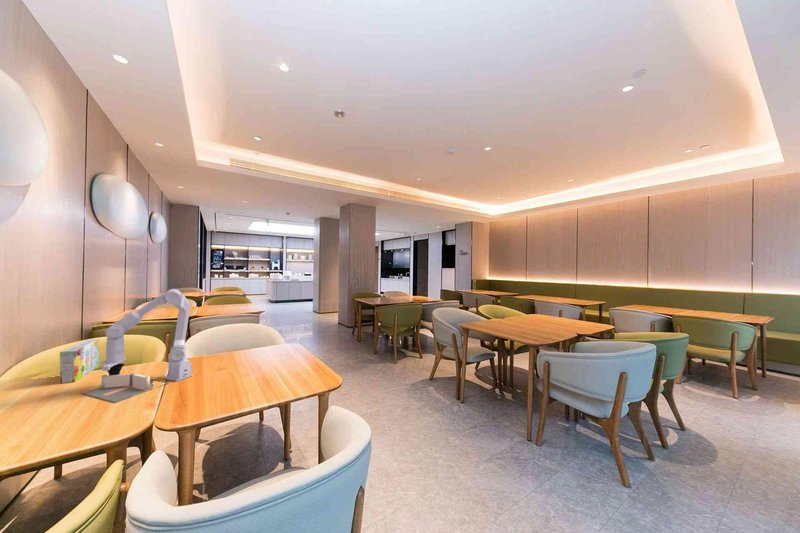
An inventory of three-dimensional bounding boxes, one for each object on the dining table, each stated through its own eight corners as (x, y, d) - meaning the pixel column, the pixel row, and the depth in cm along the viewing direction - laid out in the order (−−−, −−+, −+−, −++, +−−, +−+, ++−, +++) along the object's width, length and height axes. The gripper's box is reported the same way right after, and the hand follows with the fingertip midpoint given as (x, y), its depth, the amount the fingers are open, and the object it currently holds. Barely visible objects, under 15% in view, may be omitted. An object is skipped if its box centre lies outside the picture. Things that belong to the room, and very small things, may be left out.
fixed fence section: (150, 389, 128) (150, 375, 128) (146, 390, 127) (146, 377, 127) (136, 385, 131) (136, 372, 131) (131, 387, 130) (132, 374, 129)
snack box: (85, 368, 150) (85, 339, 150) (99, 366, 153) (100, 338, 153) (58, 384, 131) (59, 351, 131) (75, 382, 133) (76, 350, 133)
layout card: (167, 383, 135) (168, 382, 135) (115, 402, 116) (115, 401, 116) (136, 376, 142) (136, 375, 142) (81, 393, 122) (81, 392, 122)
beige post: (135, 383, 132) (135, 372, 132) (133, 385, 130) (133, 373, 130) (102, 386, 128) (103, 374, 128) (100, 388, 126) (100, 376, 126)
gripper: (112, 347, 134) (111, 375, 134) (93, 357, 121) (92, 388, 121) (131, 346, 137) (130, 374, 137) (115, 355, 124) (114, 386, 124)
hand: (114, 381), depth 129 cm, fingers closed, pressing on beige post
